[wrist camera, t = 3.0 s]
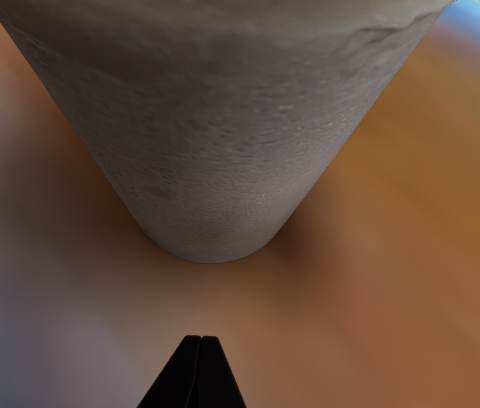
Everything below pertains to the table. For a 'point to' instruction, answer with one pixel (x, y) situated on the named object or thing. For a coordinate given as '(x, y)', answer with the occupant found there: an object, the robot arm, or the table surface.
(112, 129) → the pillar candle
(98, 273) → the table surface
